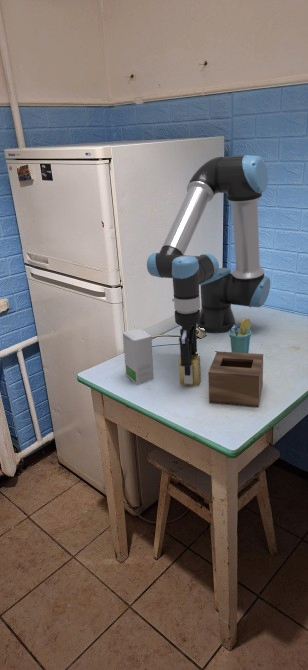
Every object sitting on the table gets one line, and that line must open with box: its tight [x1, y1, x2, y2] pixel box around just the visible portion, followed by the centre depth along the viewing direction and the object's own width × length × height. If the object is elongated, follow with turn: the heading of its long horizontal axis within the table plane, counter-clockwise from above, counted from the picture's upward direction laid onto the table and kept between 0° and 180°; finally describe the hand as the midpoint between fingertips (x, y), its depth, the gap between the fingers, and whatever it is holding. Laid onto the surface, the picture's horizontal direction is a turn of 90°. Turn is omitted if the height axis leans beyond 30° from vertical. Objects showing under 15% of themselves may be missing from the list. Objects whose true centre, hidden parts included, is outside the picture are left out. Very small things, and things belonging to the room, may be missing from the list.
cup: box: [228, 318, 252, 353], centre depth 156 cm, size 14×8×15 cm, turn 150°
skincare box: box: [122, 327, 154, 385], centre depth 151 cm, size 8×7×16 cm
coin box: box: [207, 351, 264, 408], centre depth 138 cm, size 14×14×10 cm
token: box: [178, 354, 202, 387], centre depth 146 cm, size 3×6×9 cm, turn 73°
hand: (190, 379), depth 147 cm, fingers open, 4 cm apart
